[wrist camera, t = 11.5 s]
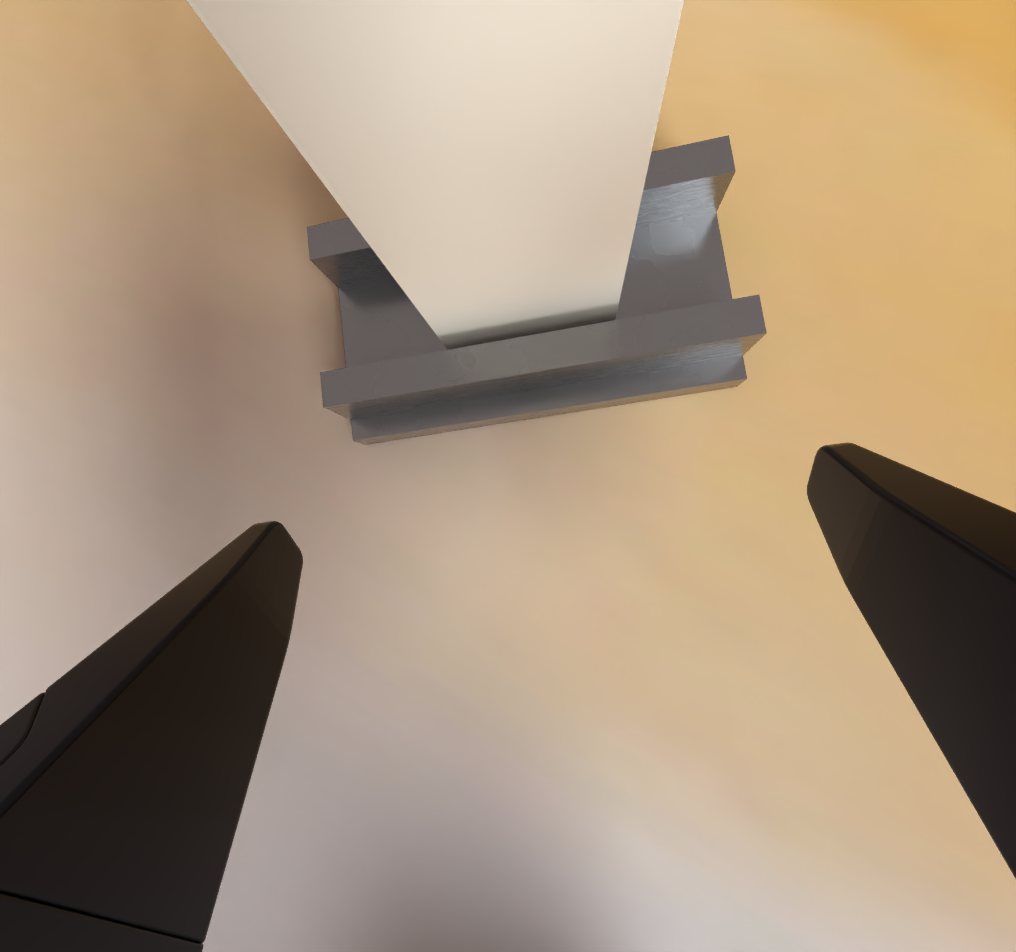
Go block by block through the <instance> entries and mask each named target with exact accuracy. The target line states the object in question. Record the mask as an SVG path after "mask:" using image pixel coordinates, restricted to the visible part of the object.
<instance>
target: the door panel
mask: <svg viewBox="0 0 1016 952" xmlns="http://www.w3.org/2000/svg"><path fill="white" fill-rule="evenodd" d="M186 1H187V2H188V4H189V5H190V6H191V8H192V9H193V10H194V12H195V13H196V14H197V16H198V17H199V18H200V20H201V21H202V22H203V24H204V25H205V26H206V28H207V29H208V30H209V32H210V33H211V34H212V36H213V37H214V38H215V40H216V41H217V42H218V44H219V45H220V46H221V48H222V49H223V50H224V52H225V53H226V54H227V56H228V57H229V58H230V60H231V61H232V62H233V64H234V65H235V66H236V68H237V69H238V70H239V72H240V73H241V74H242V76H243V77H244V78H245V80H246V81H247V82H248V84H249V85H250V86H251V88H252V89H253V90H254V92H255V93H256V94H257V96H258V97H259V98H260V100H261V101H262V102H263V104H264V105H265V106H266V108H267V109H268V110H269V112H270V113H271V114H272V116H273V117H274V118H275V120H276V121H277V122H278V124H279V125H280V126H281V128H282V129H283V130H284V132H285V133H286V134H287V136H288V137H289V138H290V140H291V141H292V143H293V144H294V145H295V147H296V148H297V149H298V151H299V152H300V153H301V155H302V156H303V157H304V159H305V160H306V161H307V163H308V164H309V165H310V167H311V168H312V169H313V171H314V172H315V173H316V175H317V176H318V177H319V179H320V180H321V181H322V183H323V184H324V185H325V187H326V188H327V189H328V191H329V192H330V193H331V195H332V196H333V197H334V199H335V200H336V201H337V203H338V204H339V205H340V207H341V208H342V209H343V211H344V212H345V213H346V215H347V216H348V217H349V219H350V220H351V221H352V223H353V224H354V225H355V227H356V228H357V229H358V231H359V232H360V233H361V235H362V236H363V237H364V239H365V240H366V241H367V243H368V244H369V245H370V247H371V248H372V249H373V251H374V252H375V253H376V255H377V256H378V257H379V259H380V260H381V261H382V263H383V264H384V265H385V267H386V268H387V269H388V271H389V272H390V273H391V275H392V276H393V277H394V279H395V280H396V282H397V283H398V284H399V286H400V287H401V288H402V290H403V291H404V292H405V294H406V295H407V296H408V298H409V299H410V300H411V302H412V303H413V304H414V306H415V307H416V308H417V310H418V311H419V312H420V314H421V315H422V316H423V318H424V319H425V320H426V322H427V323H428V324H429V326H430V327H431V328H432V330H433V331H434V332H435V334H436V335H437V336H438V338H439V339H440V340H441V342H442V343H443V344H444V346H445V347H446V348H447V350H450V349H455V348H461V347H467V346H472V345H478V344H484V343H489V342H495V341H501V340H506V339H512V338H517V337H523V336H529V335H534V334H540V333H546V332H551V331H557V330H563V329H568V328H574V327H580V326H585V325H591V324H596V323H602V322H608V321H613V320H615V319H616V314H617V309H618V305H619V300H620V295H621V291H622V286H623V281H624V277H625V272H626V268H627V263H628V258H629V254H630V249H631V244H632V240H633V235H634V230H635V226H636V221H637V216H638V212H639V207H640V202H641V198H642V193H643V189H644V184H645V179H646V175H647V170H648V165H649V161H650V156H651V151H652V147H653V142H654V137H655V133H656V128H657V123H658V119H659V114H660V110H661V105H662V100H663V96H664V91H665V86H666V82H667V77H668V72H669V68H670V63H671V58H672V54H673V49H674V44H675V40H676V35H677V31H678V26H679V21H680V17H681V12H682V7H683V3H684V0H186Z"/></svg>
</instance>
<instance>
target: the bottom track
mask: <svg viewBox="0 0 1016 952" xmlns="http://www.w3.org/2000/svg"><path fill="white" fill-rule="evenodd" d="M734 173H735V166H734V161H733V155H732V150H731V145H730V140H729V135H728V136H724V137H719V138H714V139H710V140H705V141H701V142H696V143H691V144H687V145H682V146H678V147H673V148H668V149H664V150H659V151H655V152H651V156H650V161H649V165H648V170H647V175H646V179H645V184H644V189H643V193H642V198H641V202H640V207H639V212H638V216H637V221H636V226H635V230H634V235H633V240H632V244H631V249H630V254H629V258H628V263H627V268H626V272H625V277H624V281H623V286H622V291H621V295H620V300H619V305H618V309H617V314H616V319H615V320H613V321H608V322H602V323H596V324H591V325H585V326H580V327H574V328H568V329H563V330H557V331H551V332H546V333H540V334H534V335H529V336H523V337H517V338H512V339H506V340H501V341H495V342H489V343H484V344H478V345H472V346H467V347H461V348H455V349H450V350H447V348H446V347H445V346H444V344H443V343H442V342H441V340H440V339H439V338H438V336H437V335H436V334H435V332H434V331H433V330H432V328H431V327H430V326H429V324H428V323H427V322H426V320H425V319H424V318H423V316H422V315H421V314H420V312H419V311H418V310H417V308H416V307H415V306H414V304H413V303H412V302H411V300H410V299H409V298H408V296H407V295H406V294H405V292H404V291H403V290H402V288H401V287H400V286H399V284H398V283H397V282H396V280H395V279H394V277H393V276H392V275H391V273H390V272H389V271H388V269H387V268H386V267H385V265H384V264H383V263H382V261H381V260H380V259H379V257H378V256H377V255H376V253H375V252H374V251H373V249H372V248H371V247H370V245H369V244H368V243H367V241H366V240H365V239H364V237H363V236H362V235H361V233H360V232H359V231H358V229H357V228H356V227H355V225H354V224H353V223H352V221H351V220H350V219H349V218H346V219H342V220H337V221H333V222H328V223H323V224H319V225H314V226H310V227H307V232H308V243H309V254H310V260H311V261H312V262H313V263H314V264H315V265H316V266H317V267H318V268H319V269H320V270H321V271H322V272H323V273H324V274H325V275H326V276H327V277H328V278H329V279H330V280H331V281H332V282H333V283H334V284H335V285H336V286H337V287H338V289H339V300H340V310H341V321H342V331H343V341H344V352H345V362H346V368H343V369H337V370H331V371H326V372H320V375H321V386H322V397H323V407H324V408H326V409H328V410H330V411H333V412H335V413H337V414H340V415H342V416H344V417H346V418H349V419H351V424H352V435H353V441H356V442H359V443H361V444H364V445H365V444H372V443H378V442H385V441H391V440H398V439H404V438H410V437H417V436H423V435H430V434H436V433H442V432H449V431H455V430H462V429H468V428H475V427H481V426H487V425H494V424H500V423H507V422H513V421H519V420H526V419H532V418H539V417H545V416H552V415H558V414H564V413H571V412H577V411H584V410H590V409H597V408H603V407H609V406H616V405H622V404H629V403H635V402H641V401H648V400H654V399H661V398H667V397H674V396H680V395H686V394H693V393H699V392H706V391H712V390H718V389H725V388H731V387H737V386H738V385H740V384H741V383H742V382H743V381H745V380H746V379H747V376H746V371H745V365H744V360H743V355H744V354H745V353H746V352H747V351H748V350H749V349H750V348H751V347H752V346H753V345H754V344H756V343H757V342H758V341H759V340H760V339H761V338H762V337H763V336H764V335H765V334H766V328H765V323H764V318H763V312H762V307H761V302H760V297H759V295H754V296H749V297H743V298H738V299H732V295H731V290H730V284H729V279H728V273H727V268H726V263H725V257H724V252H723V246H722V241H721V235H720V230H719V225H718V219H717V214H716V212H717V209H718V207H719V205H720V203H721V201H722V199H723V197H724V194H725V192H726V190H727V188H728V186H729V184H730V182H731V180H732V177H733V175H734Z"/></svg>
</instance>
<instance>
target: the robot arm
mask: <svg viewBox="0 0 1016 952" xmlns="http://www.w3.org/2000/svg"><path fill="white" fill-rule="evenodd" d="M807 495H808V499H809V502H810V505H811V507H812V509H813V512H814V514H815V516H816V519H817V521H818V523H819V525H820V528H821V530H822V532H823V535H824V537H825V539H826V542H827V544H828V546H829V549H830V551H831V553H832V556H833V558H834V560H835V563H836V565H837V567H838V570H839V572H840V574H841V576H842V578H843V580H844V582H845V584H846V586H847V588H848V590H849V592H850V594H851V595H852V597H853V599H854V601H855V603H856V604H857V606H858V608H859V609H860V611H861V613H862V615H863V616H864V618H865V620H866V621H867V623H868V625H869V627H870V628H871V630H872V632H873V634H874V635H875V637H876V639H877V640H878V642H879V644H880V646H881V647H882V649H883V651H884V653H885V654H886V656H887V658H888V659H889V661H890V663H891V665H892V666H893V668H894V670H895V672H896V673H897V675H898V677H899V678H900V680H901V682H902V684H903V685H904V687H905V689H906V690H907V692H908V694H909V696H910V697H911V699H912V701H913V703H914V704H915V706H916V708H917V709H918V711H919V713H920V715H921V716H922V718H923V720H924V722H925V723H926V725H927V727H928V728H929V730H930V732H931V734H932V735H933V737H934V739H935V741H936V742H937V744H938V746H939V747H940V749H941V751H942V753H943V754H944V756H945V758H946V759H947V761H948V763H949V765H950V766H951V768H952V770H953V772H954V773H955V775H956V777H957V778H958V780H959V782H960V784H961V785H962V787H963V789H964V791H965V792H966V794H967V796H968V797H969V799H970V801H971V803H972V804H973V806H974V808H975V810H976V811H977V813H978V815H979V816H980V818H981V820H982V822H983V823H984V825H985V827H986V828H987V830H988V832H989V834H990V835H991V837H992V839H993V841H994V842H995V844H996V846H997V847H998V849H999V851H1000V853H1001V854H1002V856H1003V858H1004V860H1005V861H1006V863H1007V865H1008V866H1009V868H1010V870H1011V872H1012V873H1013V875H1014V877H1015V879H1016V513H1015V512H1013V511H1011V510H1008V509H1006V508H1004V507H1001V506H999V505H996V504H994V503H992V502H989V501H987V500H985V499H982V498H980V497H978V496H975V495H973V494H971V493H968V492H966V491H964V490H961V489H959V488H957V487H954V486H952V485H950V484H947V483H945V482H942V481H940V480H938V479H935V478H933V477H931V476H928V475H926V474H924V473H921V472H919V471H917V470H914V469H912V468H910V467H907V466H905V465H903V464H900V463H898V462H896V461H893V460H891V459H888V458H886V457H884V456H881V455H879V454H877V453H874V452H872V451H870V450H867V449H865V448H863V447H860V446H858V445H856V444H853V443H840V444H833V445H825V446H823V447H821V448H820V449H819V450H818V451H817V453H816V456H815V459H814V463H813V466H812V470H811V474H810V477H809V481H808V485H807ZM302 566H303V558H302V553H301V551H300V549H299V548H298V546H297V545H296V543H295V542H294V540H293V539H292V537H291V536H290V534H289V533H288V532H287V530H286V529H285V527H284V526H283V525H282V524H281V523H279V522H276V521H271V522H264V523H258V524H255V525H253V526H251V527H250V528H249V529H247V530H246V531H245V532H244V533H242V534H241V535H240V536H239V537H237V538H236V539H235V540H233V541H232V542H231V543H230V544H228V545H227V546H226V547H225V548H223V549H222V550H221V551H220V552H218V553H217V554H216V555H215V556H213V557H212V558H211V559H210V560H208V561H207V562H206V563H205V564H203V565H202V566H201V567H199V568H198V569H197V570H196V571H194V572H193V573H192V574H191V575H189V576H188V577H187V578H186V579H184V580H183V581H182V582H181V583H179V584H178V585H177V586H176V587H174V588H173V589H172V590H170V591H169V592H168V593H167V594H165V595H164V596H163V597H162V598H160V599H159V600H158V601H157V602H155V603H154V604H153V605H152V606H150V607H149V608H148V609H147V610H145V611H144V612H143V613H142V614H140V615H139V616H138V617H136V618H135V619H134V620H133V621H131V622H130V623H129V624H128V625H126V626H125V627H124V628H123V629H121V630H120V631H119V632H118V633H116V634H115V635H114V636H113V637H111V638H110V639H109V640H107V641H106V642H105V643H104V644H102V645H101V646H100V647H99V648H97V649H96V650H95V651H94V652H92V653H91V654H90V655H89V656H87V657H86V658H85V659H84V660H82V661H81V662H80V663H79V664H77V665H76V666H75V667H73V668H72V669H71V670H70V671H68V672H67V673H66V674H65V675H63V676H62V677H61V678H60V679H58V680H57V681H56V682H55V683H53V684H52V685H51V686H50V687H48V688H47V690H46V692H45V693H41V694H39V695H38V696H37V697H35V698H34V699H33V700H32V701H30V702H29V703H28V704H27V705H25V706H24V707H23V708H22V709H20V710H19V711H18V712H17V713H15V714H14V715H13V716H12V717H10V718H9V719H8V720H6V721H5V722H4V723H2V724H1V725H0V952H202V950H203V942H204V940H205V938H206V934H207V931H208V927H209V924H210V920H211V917H212V913H213V909H214V906H215V902H216V899H217V895H218V892H219V888H220V885H221V881H222V878H223V874H224V871H225V867H226V864H227V860H228V857H229V853H230V849H231V846H232V842H233V839H234V835H235V832H236V828H237V825H238V821H239V818H240V814H241V811H242V807H243V804H244V800H245V797H246V793H247V789H248V786H249V782H250V779H251V775H252V772H253V768H254V765H255V761H256V758H257V754H258V751H259V747H260V744H261V740H262V737H263V733H264V729H265V726H266V722H267V719H268V715H269V712H270V708H271V705H272V701H273V698H274V694H275V691H276V687H277V684H278V680H279V677H280V673H281V669H282V666H283V662H284V659H285V655H286V651H287V648H288V644H289V639H290V634H291V630H292V624H293V618H294V612H295V606H296V601H297V595H298V589H299V583H300V577H301V571H302Z"/></svg>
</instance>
